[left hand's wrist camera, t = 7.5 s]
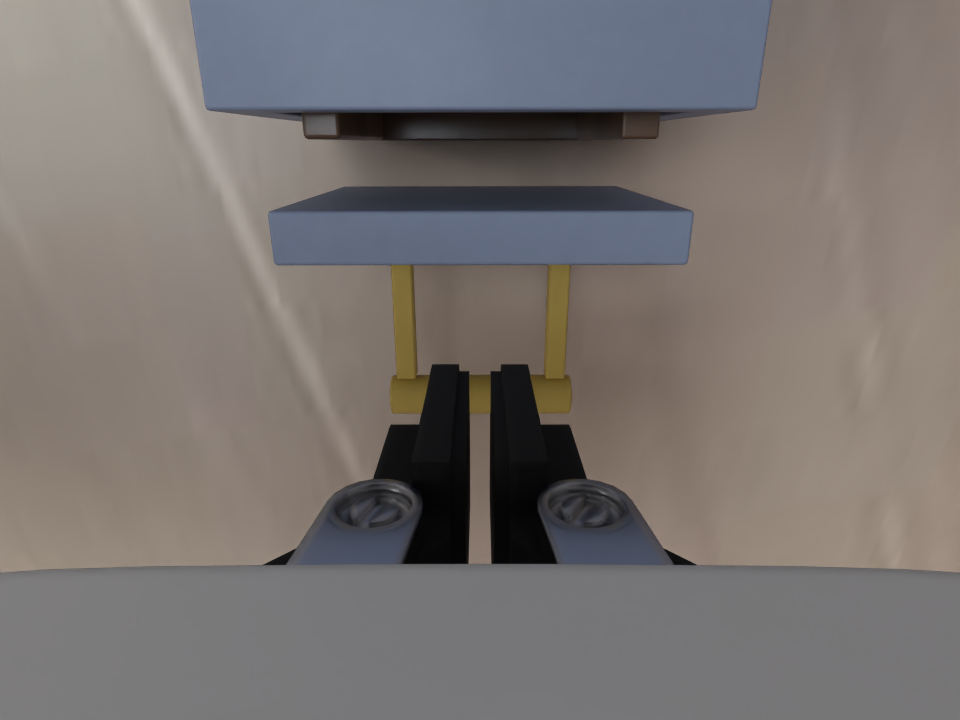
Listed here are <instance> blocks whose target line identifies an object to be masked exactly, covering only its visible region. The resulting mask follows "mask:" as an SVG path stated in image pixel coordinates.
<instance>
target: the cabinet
mask: <svg viewBox="0 0 960 720" xmlns="http://www.w3.org/2000/svg"><path fill="white" fill-rule="evenodd" d="M771 4H772V0H190V6H191V13H192V20H193V26H194V33H195V40H196V47H197V53H198V60H199V67H200V73H201V80H202V87H203V93H204V100H205V106H206V109H207V110H210V111H217V112H226V113H234V114H242V115H251V116H259V117H268V118H276V119H285V120H293V121H302V113H365V112H660V121H663V120H672V119H680V118H688V117H697V116H705V115H713V114H722V113H730V112H739V111H747V110H753V109H755V108H756V106H757V99H758V92H759V86H760V79H761V72H762V65H763V58H764V52H765V45H766V38H767V31H768V25H769V18H770V11H771ZM302 122H303V121H302Z"/></svg>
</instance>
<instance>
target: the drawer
mask: <svg viewBox="0 0 960 720" xmlns="http://www.w3.org/2000/svg"><path fill="white" fill-rule="evenodd" d="M302 121H303V132H304V136H305V138H307V139H327V140H617V139H656V138H657V137H658V133H659V122H660V112H365V113H302ZM693 215H694V214H693V211H691V210H688V209H685V208H682V207H679V206H676V205H672V204H669V203H666V202H663V201H660V200H657V199H654V198H651V197H648V196H644V195H641V194H638V193H635V192H632V191H629V190H626V189H623V188H620V187H617V186H473V187H342V188H339V189H336V190H333V191H330V192H327V193H324V194H321V195H318V196H315V197H312V198H309V199H306V200H303V201H300V202H297V203H294V204H291V205H288V206H285V207H282V208H279V209H276V210H273V211H270V212H269V214H268V217H269V225H270V233H271V241H272V249H273V257H274V263H275V264H276V265H391V276H392V295H393V313H394V332H395V351H396V369H397V375H394V376H392V379H391V385H390V405H391V410H392V413H394V414H422V409H423V405H424V400H425V396H426V391H427V386H428V382H429V377H430V375H417V372H418V367H417V342H416V317H415V292H414V268H413V265H548V278H547V304H546V330H545V355H544V374H545V375H530V377H531V382H532V386H533V391H534V396H535V400H536V405H537V410H538V413H569V412H570V409H571V401H572V389H571V380H570V377H569V376H568V375H565V362H566V342H567V323H568V304H569V285H570V266H571V265H684V264H687V262H688V256H689V248H690V240H691V232H692V223H693ZM490 389H491V375H469V392H470V413H490Z"/></svg>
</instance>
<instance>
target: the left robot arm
mask: <svg viewBox="0 0 960 720" xmlns="http://www.w3.org/2000/svg"><path fill="white" fill-rule="evenodd" d="M469 523H470V392H469V371H459V364H432V368H431V373H430V377H429V382H428V386H427V391H426V396H425V400H424V405H423V409H422V414H421V419H420V423H419V425H391V426H390V428H389V431H388V434H387V437H386V440H385V443H384V447H383V450H382V453H381V456H380V459H379V462H378V465H377V469H376V472H375V475H374V478H373V479H371V480H366V481H360V482H357V483H354V484H351V485H349V486H346V487H344V488H343V489H341V490H339V491H338V492H336V493H335V494H334V495H333V496H332V497H331V498H330V499H329V500H328V501H327V503H326V504H325V506H324V507H323V509H322V510H321V512H320V513H319V515H318V516H317V518H316V519H315V521H314V523H313V524H312V526H311V527H310V529H309V530H308V532H307V533H306V535H305V536H304V538H303V539H302V541H301V542H300V544H299V546H298V547H297V548H296V549H294V550H292V551H290V552H288V553H286V554H284V555H282V556H280V557H278V558H276V559H274V560H272V561H270V562H268V563H266V564H264V565H243V566H150V567H115V568H83V569H50V570H33V571H19V572H5V573H0V720H960V573H957V572H941V571H925V570H909V569H880V568H842V567H805V566H720V565H696V564H694V563H692V562H690V561H688V560H686V559H684V558H682V557H680V556H678V555H676V554H674V553H672V552H670V551H668V550H666V549H664V548H663V547H662V546H661V544H660V542H659V541H658V539H657V538H656V536H655V535H654V533H653V532H652V530H651V529H650V527H649V526H648V524H647V523H646V521H645V519H644V518H643V516H642V515H641V513H640V512H639V510H638V509H637V507H636V506H635V504H634V503H633V501H632V500H631V499H630V498H629V497H628V496H627V495H626V494H625V493H624V492H622V491H621V490H619V489H617V488H616V487H614V486H611V485H609V484H606V483H603V482H600V481H594V480H589V479H587V478H586V475H585V472H584V469H583V465H582V462H581V459H580V456H579V453H578V450H577V447H576V444H575V440H574V437H573V434H572V431H571V428H570V426H569V425H541V423H540V419H539V414H538V410H537V405H536V400H535V396H534V391H533V386H532V382H531V377H530V373H529V368H528V364H501V371H491V389H490V523H491V559H492V564H468V559H469Z"/></svg>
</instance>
